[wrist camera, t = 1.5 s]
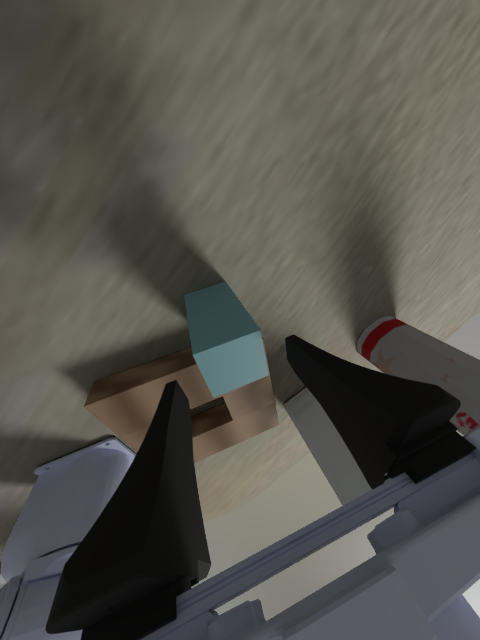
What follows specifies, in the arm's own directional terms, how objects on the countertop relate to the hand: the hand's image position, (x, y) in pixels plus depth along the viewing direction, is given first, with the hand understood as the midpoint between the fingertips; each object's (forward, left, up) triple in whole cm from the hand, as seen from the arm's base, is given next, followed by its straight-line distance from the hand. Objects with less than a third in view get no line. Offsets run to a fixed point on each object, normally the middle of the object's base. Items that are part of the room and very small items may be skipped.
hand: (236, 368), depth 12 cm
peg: (0, 0, -9) cm, 9 cm away
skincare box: (+11, -23, -9) cm, 27 cm away
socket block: (-5, -13, -9) cm, 17 cm away
